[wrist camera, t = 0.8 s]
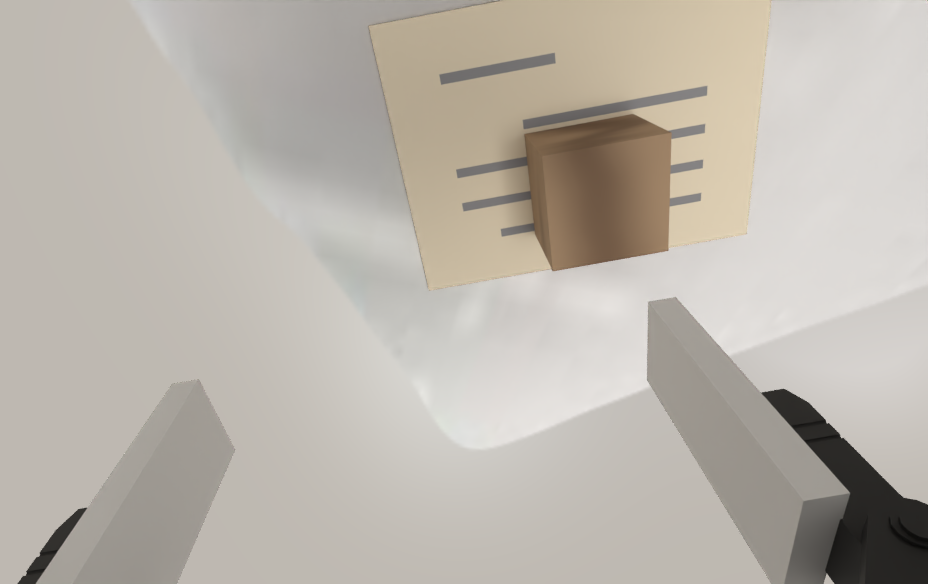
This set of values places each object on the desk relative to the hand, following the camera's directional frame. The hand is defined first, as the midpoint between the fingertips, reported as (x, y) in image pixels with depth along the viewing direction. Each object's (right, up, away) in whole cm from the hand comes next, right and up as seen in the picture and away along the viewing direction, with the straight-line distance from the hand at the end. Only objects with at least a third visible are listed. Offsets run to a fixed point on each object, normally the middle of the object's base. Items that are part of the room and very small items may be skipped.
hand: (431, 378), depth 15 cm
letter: (+7, +11, +14) cm, 19 cm away
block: (+8, +9, +15) cm, 19 cm away
